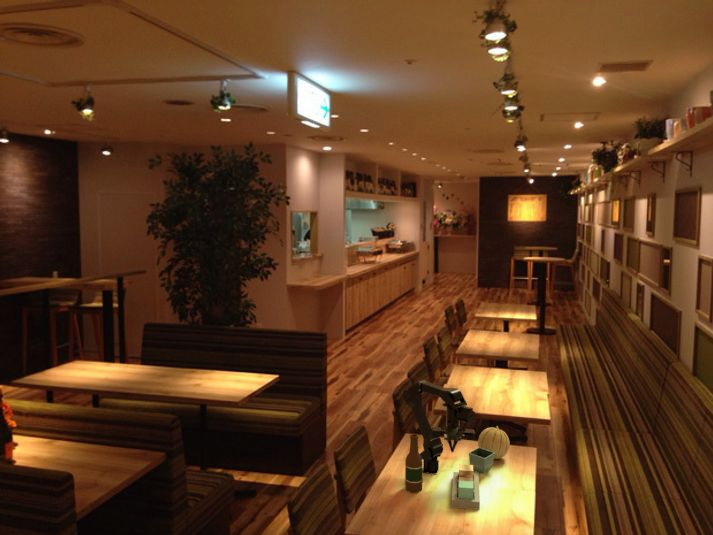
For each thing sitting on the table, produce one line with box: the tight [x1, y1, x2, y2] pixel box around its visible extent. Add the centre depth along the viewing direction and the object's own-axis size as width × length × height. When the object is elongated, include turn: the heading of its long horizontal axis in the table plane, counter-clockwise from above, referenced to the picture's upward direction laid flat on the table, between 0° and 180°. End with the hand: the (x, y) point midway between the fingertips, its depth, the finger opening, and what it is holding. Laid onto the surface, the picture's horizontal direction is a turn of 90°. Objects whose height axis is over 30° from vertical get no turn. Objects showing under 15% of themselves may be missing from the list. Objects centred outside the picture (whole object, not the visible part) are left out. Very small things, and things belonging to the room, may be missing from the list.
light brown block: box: [458, 463, 474, 478], centre depth 274 cm, size 6×6×5 cm
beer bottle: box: [404, 433, 424, 494], centre depth 269 cm, size 8×8×24 cm
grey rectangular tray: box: [451, 471, 481, 510], centre depth 267 cm, size 11×26×3 cm, turn 170°
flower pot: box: [468, 447, 495, 475], centre depth 287 cm, size 9×9×9 cm
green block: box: [457, 480, 474, 500], centre depth 258 cm, size 6×6×5 cm
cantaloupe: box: [477, 425, 511, 460], centre depth 301 cm, size 15×15×15 cm
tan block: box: [458, 477, 474, 482], centre depth 267 cm, size 6×6×5 cm
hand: (452, 452), depth 277 cm, fingers closed
